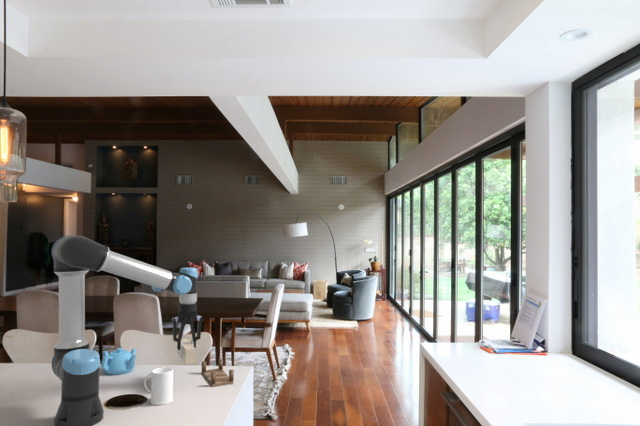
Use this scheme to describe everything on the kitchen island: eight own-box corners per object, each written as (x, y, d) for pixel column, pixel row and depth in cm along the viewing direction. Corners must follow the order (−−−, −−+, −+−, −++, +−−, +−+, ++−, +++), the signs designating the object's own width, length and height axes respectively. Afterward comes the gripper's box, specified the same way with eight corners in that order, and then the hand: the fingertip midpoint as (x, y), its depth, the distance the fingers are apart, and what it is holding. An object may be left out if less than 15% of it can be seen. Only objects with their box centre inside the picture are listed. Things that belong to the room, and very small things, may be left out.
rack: (234, 383, 196) (234, 370, 196) (211, 387, 191) (211, 374, 192) (221, 370, 216) (222, 358, 216) (200, 372, 211) (201, 361, 211)
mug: (138, 403, 172) (138, 371, 173) (151, 395, 181) (152, 365, 181) (165, 406, 170) (165, 374, 170) (177, 398, 178) (178, 367, 178)
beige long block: (195, 363, 188) (195, 348, 188) (185, 364, 186) (186, 349, 186) (186, 352, 206) (187, 338, 206) (177, 353, 204) (178, 339, 204)
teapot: (102, 368, 218) (103, 346, 218) (135, 365, 223) (136, 343, 224) (100, 377, 204) (100, 353, 204) (135, 374, 209) (136, 350, 210)
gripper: (205, 300, 204) (204, 352, 203) (166, 302, 197) (164, 356, 195) (209, 302, 198) (207, 356, 196) (169, 305, 190) (167, 360, 189)
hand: (186, 356), depth 196 cm, fingers closed on beige long block, 4 cm apart
